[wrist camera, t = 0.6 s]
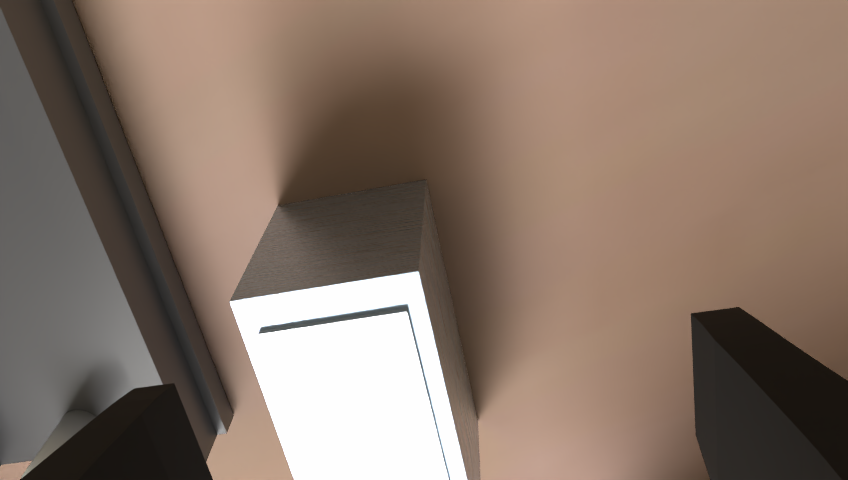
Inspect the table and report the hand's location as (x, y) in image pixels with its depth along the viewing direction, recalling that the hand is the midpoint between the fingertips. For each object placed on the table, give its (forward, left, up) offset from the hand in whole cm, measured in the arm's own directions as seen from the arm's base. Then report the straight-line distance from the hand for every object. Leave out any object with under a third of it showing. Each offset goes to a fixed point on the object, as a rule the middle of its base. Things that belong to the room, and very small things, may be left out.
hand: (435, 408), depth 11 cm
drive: (-4, +3, -10) cm, 11 cm away
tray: (0, +12, -10) cm, 16 cm away
